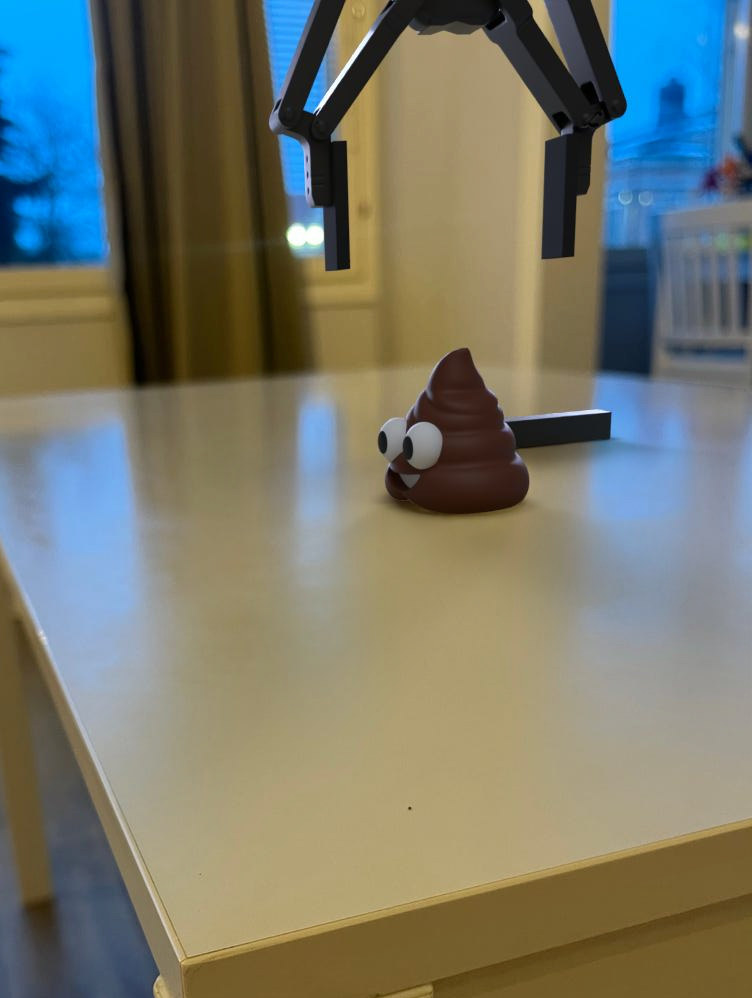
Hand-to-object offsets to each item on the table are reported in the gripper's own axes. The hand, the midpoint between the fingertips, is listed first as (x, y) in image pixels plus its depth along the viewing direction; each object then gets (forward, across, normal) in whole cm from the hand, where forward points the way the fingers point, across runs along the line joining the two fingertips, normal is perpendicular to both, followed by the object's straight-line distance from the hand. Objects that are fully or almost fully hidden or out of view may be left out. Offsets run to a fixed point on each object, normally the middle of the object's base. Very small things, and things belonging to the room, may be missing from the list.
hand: (449, 265), depth 58 cm
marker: (+14, -14, -18) cm, 27 cm away
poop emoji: (+14, 0, 0) cm, 14 cm away
